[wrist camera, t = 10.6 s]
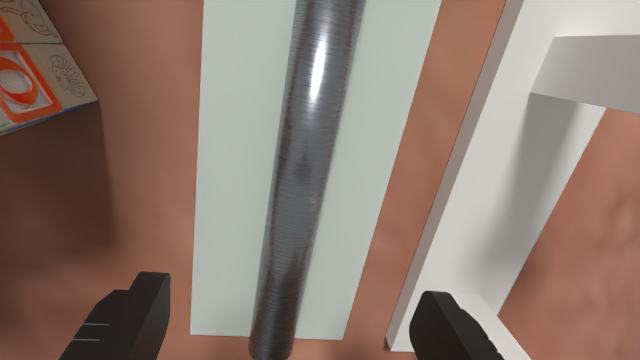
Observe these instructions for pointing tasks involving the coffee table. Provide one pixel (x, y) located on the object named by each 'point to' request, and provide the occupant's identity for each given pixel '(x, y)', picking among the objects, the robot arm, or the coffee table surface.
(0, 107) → the stack of blocks
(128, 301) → the robot arm
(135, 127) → the coffee table surface
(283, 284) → the rail
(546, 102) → the rack
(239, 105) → the mat
